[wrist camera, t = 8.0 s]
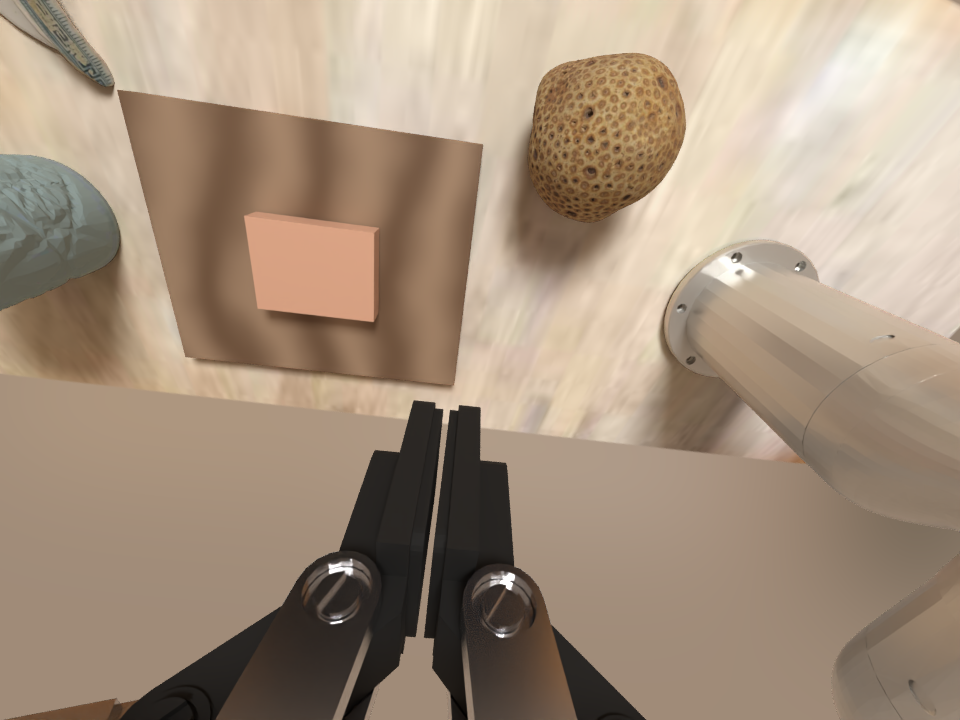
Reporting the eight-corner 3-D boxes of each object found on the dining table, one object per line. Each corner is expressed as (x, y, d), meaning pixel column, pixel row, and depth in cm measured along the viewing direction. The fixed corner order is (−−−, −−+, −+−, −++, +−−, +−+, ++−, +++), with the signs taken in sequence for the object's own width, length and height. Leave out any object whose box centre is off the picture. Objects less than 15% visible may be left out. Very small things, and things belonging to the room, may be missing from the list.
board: (482, 144, 29) (483, 144, 28) (454, 376, 39) (453, 385, 38) (134, 91, 28) (116, 89, 26) (195, 349, 37) (185, 356, 36)
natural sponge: (611, 222, 32) (661, 255, 23) (503, 191, 31) (514, 214, 22) (664, 89, 28) (751, 69, 19) (542, 48, 27) (574, 7, 18)
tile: (374, 233, 29) (244, 215, 28) (373, 321, 32) (257, 308, 32) (379, 227, 31) (257, 211, 30) (378, 312, 34) (269, 299, 33)
